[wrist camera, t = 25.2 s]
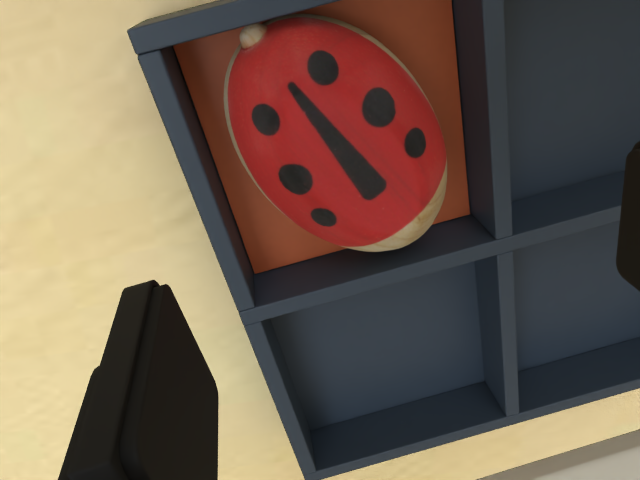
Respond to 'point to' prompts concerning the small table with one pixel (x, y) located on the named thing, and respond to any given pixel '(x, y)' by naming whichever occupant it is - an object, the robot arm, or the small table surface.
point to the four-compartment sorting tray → (445, 232)
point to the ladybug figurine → (335, 132)
